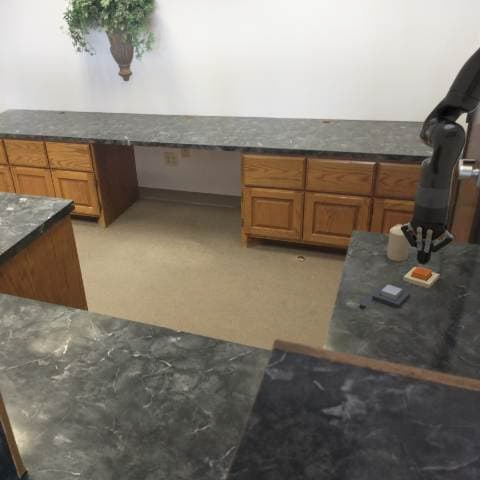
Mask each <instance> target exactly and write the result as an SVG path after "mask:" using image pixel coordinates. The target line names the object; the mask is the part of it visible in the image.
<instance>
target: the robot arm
mask: <svg viewBox="0 0 480 480" xmlns="http://www.w3.org/2000/svg"><path fill="white" fill-rule="evenodd" d="M479 105H480V46H479V47H478V48H477V49H476V50H475V51H474V52H473V53H472V54H471V55H470V57H468V59H467V60H466V61H465V62H464V64H463V65H462V66H461V68H460V69H459V71H458V72H457V74H456V75H455V78H454V79H453V81H452V83H451V85H450V87H449V88H448V90H447V92H446V94H445V96H444V97H443V98H442V99H441V100H440V101H439V102H438V103H437V105H436V106H435V107H434V108H433V109H432V110H431V111H430V113H429V114H428V115H427V117H426V118H425V119H424V120H423V122H422V125H421V127H420V131H419V138H420V141H421V143H422V144H423V145H425V146H427V147H430V148H431V149H432V154H431V157H428V158H425V159H424V160H423V161H422V162H421V165H420V169H419V178H418V182H417V183H418V184H417V188H416V191H415V195H414V204H413V210H412V211H413V212H412V218H411V219H410V220H409V222H408V223H407V222H406V223H404V224H402V225H403V226H402V227H401V230H402V232H403V234H404V235H405V237H406V239H407V240H408V242H409V244H410V245H409V246H410V247H412V248H416V250H417V253H416V261H417V263H418V264H419V265H423V266H425V265H426V264H428V263H429V262H430V261H431V256H432V253H437V252H439V251H440V250H441V249H443V248H444V247H447V245H449V244H450V243H451V242H453V241H454V240H455V239H456V237H457V236H456V235H455V234H454V233H452V234H451V233H450V231H448V225H447V221H448V215H449V209H450V204H451V203H450V202H451V198H452V197H451V195H452V184H453V177H454V172H455V171H454V170H455V168H456V166H457V164H458V163H459V160H460V158H461V155H462V153H463V151H464V149H465V146H466V142H467V132H466V129H465V128H464V126H463V125H462V124H461V123H459V122H457V121H458V120H459V118H460V117H461V116H462V115H463V114H471V113H473V112H475V110H477V108H478V107H479ZM441 236H442V237H441ZM439 237H441V241H440V242H438V243H436V244H435V242H436V240H437V239H438V238H439ZM434 244H435V245H434Z"/></svg>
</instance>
